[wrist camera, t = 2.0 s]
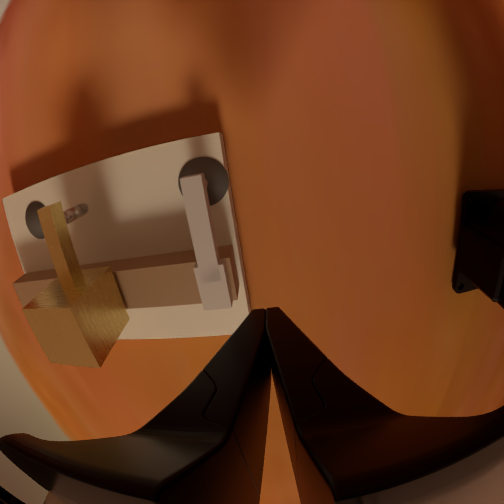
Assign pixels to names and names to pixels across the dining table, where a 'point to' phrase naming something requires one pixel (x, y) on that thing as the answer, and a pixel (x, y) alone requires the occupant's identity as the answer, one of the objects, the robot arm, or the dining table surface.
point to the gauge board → (147, 236)
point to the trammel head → (74, 299)
